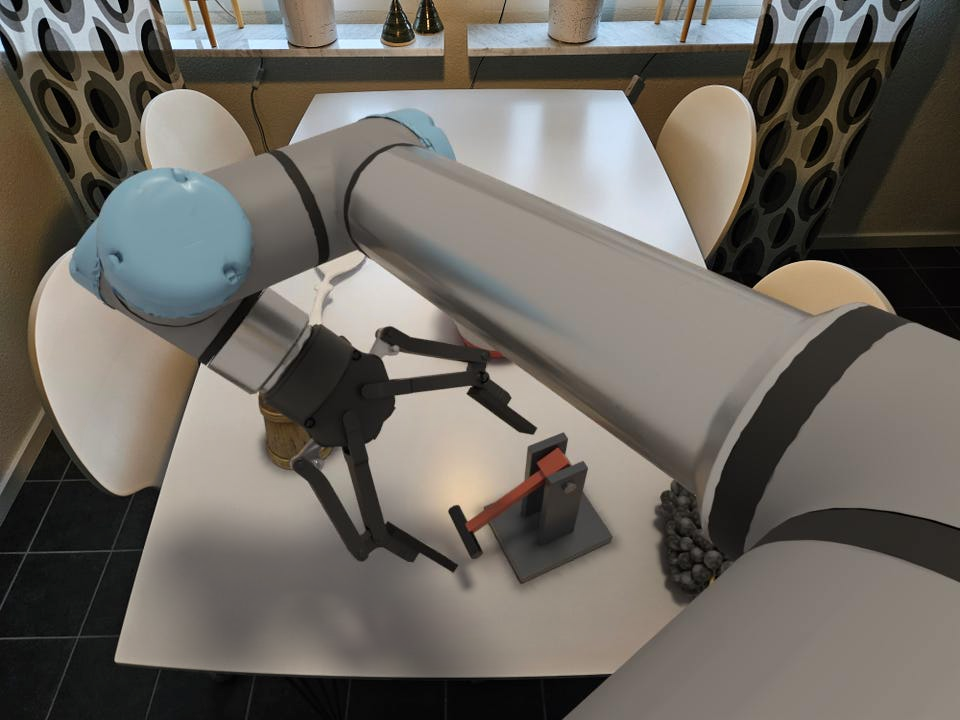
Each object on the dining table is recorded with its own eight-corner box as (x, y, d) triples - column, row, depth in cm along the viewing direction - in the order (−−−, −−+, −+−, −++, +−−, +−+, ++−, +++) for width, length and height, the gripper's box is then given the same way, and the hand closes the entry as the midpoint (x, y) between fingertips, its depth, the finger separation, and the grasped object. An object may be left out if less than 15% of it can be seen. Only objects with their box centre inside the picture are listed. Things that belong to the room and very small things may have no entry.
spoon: (271, 370, 94) (265, 354, 92) (324, 238, 116) (320, 222, 113) (331, 374, 94) (327, 358, 91) (373, 240, 115) (371, 224, 113)
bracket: (521, 583, 73) (529, 518, 62) (483, 511, 79) (484, 441, 68) (611, 541, 76) (633, 473, 65) (568, 476, 82) (582, 403, 71)
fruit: (669, 449, 74) (711, 573, 64) (730, 458, 76) (780, 580, 66) (633, 490, 80) (666, 609, 69) (691, 497, 82) (731, 614, 72)
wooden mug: (370, 462, 84) (350, 370, 70) (263, 472, 82) (223, 380, 69) (370, 409, 90) (352, 314, 76) (271, 417, 88) (235, 323, 75)
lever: (476, 561, 68) (466, 556, 66) (453, 515, 72) (443, 509, 70) (585, 484, 67) (578, 477, 65) (556, 441, 71) (548, 433, 69)
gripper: (363, 242, 57) (538, 378, 64) (185, 490, 50) (400, 610, 57) (388, 224, 50) (580, 379, 57) (185, 509, 43) (430, 642, 51)
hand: (490, 495), depth 57 cm, fingers open, 13 cm apart
